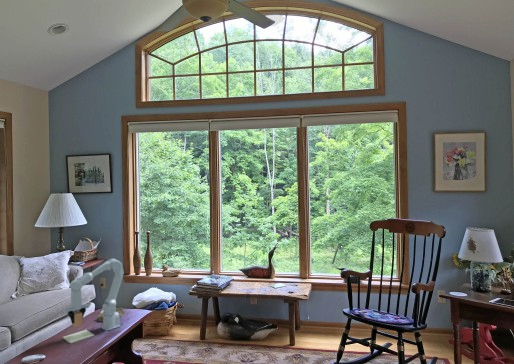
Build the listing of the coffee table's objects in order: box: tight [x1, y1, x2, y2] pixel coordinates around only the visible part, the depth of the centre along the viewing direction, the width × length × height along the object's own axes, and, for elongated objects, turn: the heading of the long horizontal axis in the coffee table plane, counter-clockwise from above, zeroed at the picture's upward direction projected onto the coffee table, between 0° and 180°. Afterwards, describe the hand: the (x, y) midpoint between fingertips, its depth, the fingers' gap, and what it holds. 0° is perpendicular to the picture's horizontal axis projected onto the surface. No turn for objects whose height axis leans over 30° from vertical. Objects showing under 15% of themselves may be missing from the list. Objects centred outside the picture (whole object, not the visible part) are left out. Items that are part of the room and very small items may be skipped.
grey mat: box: [62, 329, 95, 344], centre depth 227 cm, size 14×12×1 cm
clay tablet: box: [97, 307, 125, 323], centre depth 260 cm, size 14×5×20 cm
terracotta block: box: [71, 310, 83, 328], centre depth 228 cm, size 4×4×8 cm
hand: (76, 321), depth 228 cm, fingers closed on terracotta block, 4 cm apart
